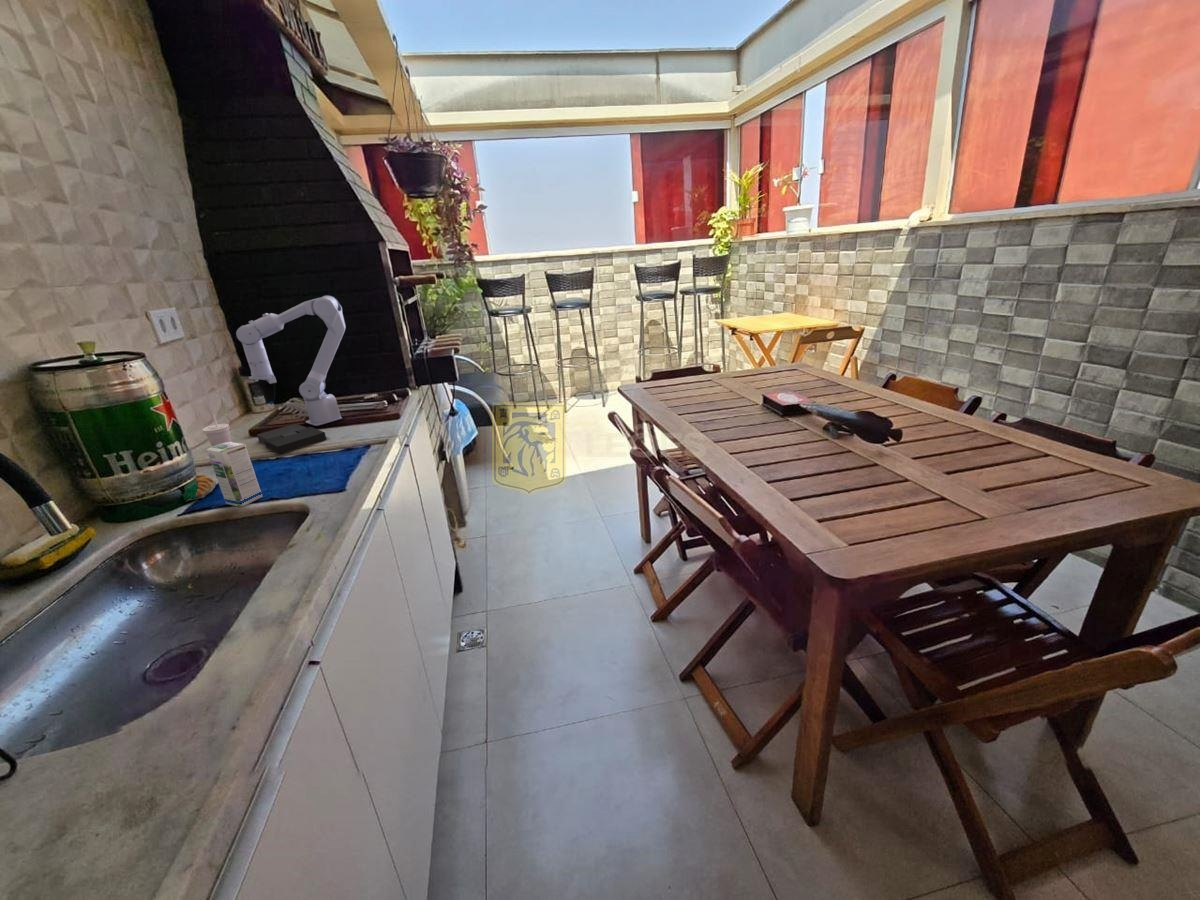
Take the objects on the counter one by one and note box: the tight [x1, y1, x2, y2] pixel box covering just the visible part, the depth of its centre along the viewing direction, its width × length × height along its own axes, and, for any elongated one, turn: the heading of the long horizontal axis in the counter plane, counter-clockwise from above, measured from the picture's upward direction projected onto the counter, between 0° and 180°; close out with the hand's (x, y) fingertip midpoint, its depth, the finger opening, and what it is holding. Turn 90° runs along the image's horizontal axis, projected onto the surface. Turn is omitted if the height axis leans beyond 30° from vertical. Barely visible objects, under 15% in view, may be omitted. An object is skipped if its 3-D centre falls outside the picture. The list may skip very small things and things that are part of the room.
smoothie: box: [202, 412, 232, 447], centre depth 143 cm, size 6×6×14 cm
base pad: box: [264, 426, 327, 455], centre depth 154 cm, size 14×10×2 cm
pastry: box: [186, 474, 217, 502], centre depth 123 cm, size 9×7×4 cm
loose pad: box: [256, 423, 307, 445], centre depth 158 cm, size 12×11×2 cm
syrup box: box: [206, 441, 263, 508], centre depth 116 cm, size 6×6×14 cm
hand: (271, 401), depth 167 cm, fingers closed
